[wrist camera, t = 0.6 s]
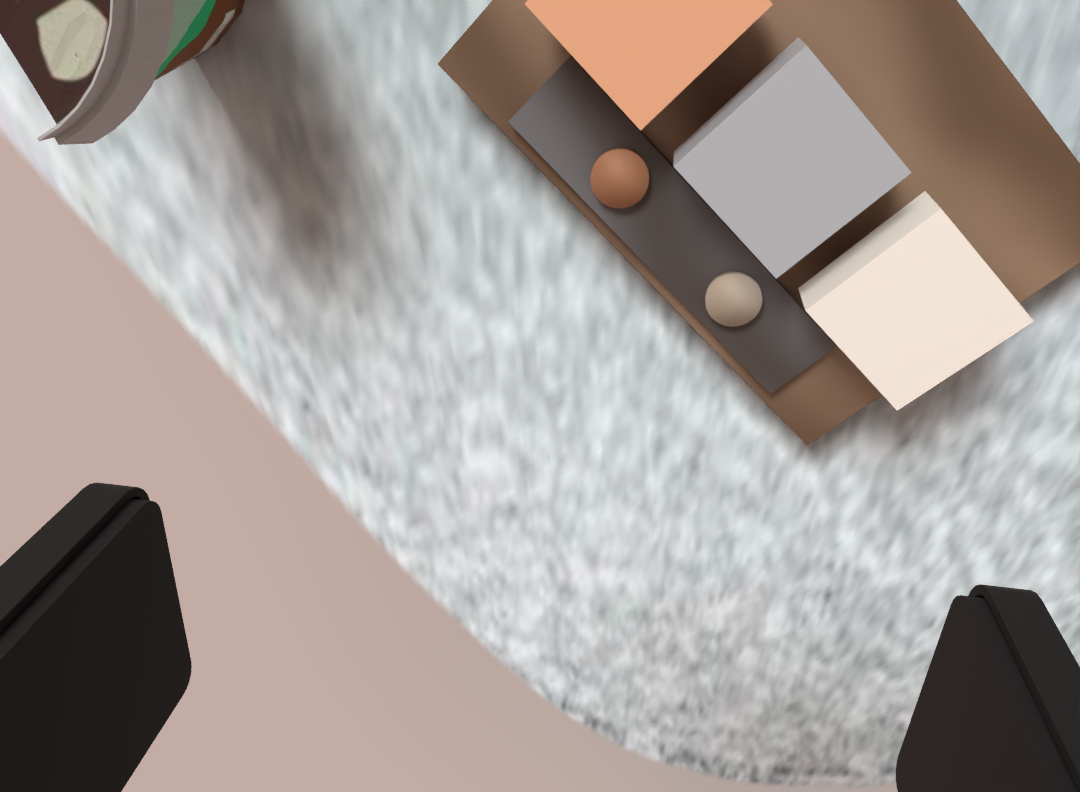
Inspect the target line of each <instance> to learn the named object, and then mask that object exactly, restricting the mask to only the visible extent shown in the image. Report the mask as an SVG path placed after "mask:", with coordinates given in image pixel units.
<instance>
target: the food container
mask: <svg viewBox="0 0 1080 792" xmlns="http://www.w3.org/2000/svg"><path fill="white" fill-rule="evenodd" d="M244 2H245V0H0V34H1V35H2V37H3V38H4V40H5V42H6V43H7V45H8V46H9V48H10V50H11V51H12V53H13V54H14V56H15V57H16V59H17V61H18V62H19V64H20V65H21V67H22V69H23V70H24V72H25V73H26V75H27V76H28V78H29V80H30V81H31V83H32V84H33V86H34V88H35V89H36V91H37V93H38V94H39V96H40V97H41V99H42V101H43V102H44V104H45V106H46V107H47V109H48V111H49V112H50V114H51V115H52V117H53V119H54V120H55V122H56V124H58V125H57V126H55V127H54V128H52V129H51V130H49V131H48V132H46V133H45V134H43V135H42V136H40V137H39V138H37V139H38V140H39V141H41V140H45V139H49V138H53V137H55V139H56V141H57V143H58V144H59V145H61V144H86V143H94V142H95V141H97V140H99V139H100V138H102V137H103V136H105V135H107V134H108V133H110V132H111V131H113V130H114V129H116V128H117V127H118V126H119V125H120V124H121V123H122V122H123V121H124V120H125V119H126V118H127V117H128V116H129V115H130V114H131V113H132V112H133V111H134V110H135V109H136V108H137V106H138V105H139V103H140V102H141V100H142V99H143V98H144V96H145V95H146V93H147V92H148V90H149V89H150V88H151V86H152V84H153V82H154V80H156V79H158V78H159V77H161V76H163V75H165V74H167V73H168V72H170V71H172V70H174V69H176V68H177V67H179V66H181V65H183V64H185V63H186V62H188V61H190V60H192V59H194V58H195V57H197V56H198V55H200V54H201V53H203V52H205V51H206V50H208V49H209V48H211V47H212V46H214V45H215V44H217V43H218V42H219V40H220V39H221V38H222V37H223V35H224V34H225V33H226V31H227V30H228V29H229V28H230V26H231V25H232V24H233V22H234V21H235V20H236V19H237V17H238V16H239V15H240V13H241V11H242V8H243V5H244Z"/></svg>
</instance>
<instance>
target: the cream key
mask: <svg viewBox="0 0 1080 792" xmlns="http://www.w3.org/2000/svg"><path fill="white" fill-rule="evenodd" d="M798 289H799V292H800V295H801V299H802V302H803V305H804V308H805V311H806V312H807V313H808V314H809V315H810V316H811V317H812V318H813V320H814V321H815V322H816V323H817V324H818V325H819V326H820V327H821V328H822V329H823V330H824V332H825V333H826V334H827V335H828V336H829V337H830V338H831V339H832V340H833V341H834V342H835V344H836V345H837V346H838V347H839V348H840V349H841V350H842V351H843V352H844V353H845V354H846V356H847V357H848V358H849V359H850V360H851V361H852V362H853V363H854V364H855V365H856V366H857V368H858V369H859V370H860V371H861V372H862V373H863V374H864V375H865V376H866V377H867V378H868V380H869V381H870V382H871V383H872V384H873V385H874V386H875V387H876V388H877V389H878V391H879V392H880V393H881V394H882V395H883V396H884V397H885V398H886V399H887V400H888V401H889V403H890V404H891V405H892V406H893V407H894V408H895V409H896V410H897V411H898V410H899V409H901V408H902V407H904V406H905V405H907V404H908V403H910V402H911V401H913V400H914V399H916V398H917V397H919V396H920V395H922V394H924V393H925V392H927V391H928V390H930V389H931V388H933V387H934V386H936V385H937V384H939V383H940V382H942V381H943V380H945V379H946V378H948V377H950V376H951V375H953V374H954V373H956V372H957V371H959V370H960V369H962V368H963V367H965V366H966V365H968V364H969V363H971V362H972V361H974V360H975V359H977V358H979V357H980V356H982V355H983V354H985V353H986V352H988V351H989V350H991V349H992V348H994V347H995V346H997V345H998V344H1000V343H1001V342H1003V341H1005V340H1006V339H1008V338H1009V337H1011V336H1012V335H1014V334H1015V333H1017V332H1018V331H1020V330H1021V329H1023V328H1024V327H1026V326H1027V325H1029V324H1030V323H1032V322H1034V321H1033V319H1032V318H1031V317H1030V316H1029V315H1028V313H1027V312H1026V311H1025V310H1024V309H1023V307H1022V306H1021V305H1020V304H1019V302H1018V301H1017V300H1016V299H1015V298H1014V296H1013V295H1012V294H1011V293H1010V292H1009V290H1008V289H1007V288H1006V287H1005V285H1004V284H1003V283H1002V282H1001V281H1000V279H999V278H998V277H997V276H996V275H995V273H994V272H993V271H992V270H991V268H990V267H989V266H988V265H987V264H986V262H985V261H984V260H983V259H982V258H981V256H980V255H979V254H978V253H977V251H976V250H975V249H974V248H973V247H972V245H971V244H970V243H969V242H968V241H967V239H966V238H965V237H964V236H963V234H962V233H961V232H960V231H959V230H958V228H957V227H956V226H955V225H954V224H953V222H952V221H951V220H950V219H949V217H948V216H947V215H946V214H945V213H944V211H943V210H942V209H941V208H940V207H939V206H938V205H937V203H936V202H935V201H934V200H933V199H932V198H931V197H930V196H929V195H928V194H927V192H926V191H924V192H923V193H922V194H920V195H919V196H918V197H916V198H915V199H914V200H912V201H911V202H910V203H909V204H907V205H906V206H905V207H903V208H902V209H901V210H899V211H898V212H897V213H895V214H894V215H893V216H892V217H890V218H889V219H888V220H886V221H885V222H884V223H882V224H881V225H880V226H879V227H877V228H876V229H875V230H873V231H872V232H871V233H869V234H868V235H867V236H866V237H864V238H863V239H862V240H860V241H859V242H858V243H856V244H855V245H854V246H853V247H851V248H850V249H849V250H847V251H846V252H845V253H843V254H842V255H841V256H839V257H838V258H837V259H836V260H834V261H833V262H832V263H830V264H829V265H828V266H826V267H825V268H824V269H823V270H821V271H820V272H819V273H817V274H816V275H815V276H813V277H812V278H811V279H810V280H808V281H807V282H806V283H804V284H803V285H802V286H800V287H799V288H798Z"/></svg>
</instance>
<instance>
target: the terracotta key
mask: <svg viewBox="0 0 1080 792" xmlns="http://www.w3.org/2000/svg"><path fill="white" fill-rule="evenodd" d="M525 5H526V6H527V7H528V8H529V9H530V10H531V11H532V13H533V14H534V15H535V16H536V17H537V18H538V19H539V20H540V21H541V22H542V24H543V25H544V26H545V27H546V28H547V29H548V30H549V31H550V32H551V33H552V34H553V36H554V37H555V38H556V39H557V40H558V41H559V42H560V43H561V44H562V45H563V46H564V48H565V49H566V50H567V51H568V52H569V53H570V54H571V55H572V56H573V57H574V58H575V60H576V61H577V62H578V63H579V64H580V65H581V66H582V67H583V68H584V69H585V70H586V72H587V73H588V74H589V75H590V76H591V77H592V78H593V79H594V80H595V81H596V82H597V84H598V85H599V86H600V87H601V88H602V89H603V90H604V91H605V92H606V93H607V95H608V96H609V97H610V98H611V99H612V100H613V101H614V102H615V103H616V104H617V105H618V107H619V108H620V109H621V110H622V111H623V112H624V113H625V114H626V115H627V116H628V117H629V119H630V120H631V121H632V122H633V123H634V124H635V125H636V126H637V127H638V128H639V129H640V131H641V130H642V129H643V128H644V127H645V126H646V125H647V124H648V123H649V122H650V121H651V120H652V119H653V118H654V117H655V116H656V115H658V114H659V113H660V112H661V111H662V110H663V109H664V108H665V107H666V106H667V105H668V104H669V103H670V102H671V101H672V100H673V99H674V98H675V97H676V96H677V95H679V94H680V93H681V92H682V91H683V90H684V89H685V88H686V87H687V86H688V85H689V84H690V83H691V82H692V81H693V80H694V79H695V78H696V77H697V76H698V75H699V74H701V73H702V72H703V71H704V70H705V69H706V68H707V67H708V66H709V65H710V64H711V63H712V62H713V61H714V60H715V59H716V58H717V57H718V56H719V55H720V54H722V53H723V52H724V51H725V50H726V49H727V48H728V47H729V46H730V45H731V44H732V43H733V42H734V41H735V40H736V39H737V38H738V37H739V36H740V35H741V34H742V33H744V32H745V31H746V30H747V29H748V28H749V27H750V26H751V25H752V24H753V23H754V22H755V21H756V20H757V19H758V18H759V17H760V16H761V15H762V14H763V13H765V12H766V11H767V10H768V9H769V8H770V7H771V6H772V5H773V4H772V3H771V1H770V0H527V1H526V3H525Z"/></svg>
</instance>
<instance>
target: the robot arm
mask: <svg viewBox="0 0 1080 792" xmlns="http://www.w3.org/2000/svg"><path fill="white" fill-rule="evenodd" d="M190 675H191V658H190V653H189V648H188V643H187V639H186V634H185V628H184V623H183V619H182V613H181V608H180V603H179V598H178V594H177V588H176V583H175V578H174V573H173V568H172V563H171V558H170V553H169V548H168V543H167V538H166V533H165V528H164V523H163V518H162V513H161V510H160V507H159V505H158V504H157V503H156V502H153V501H150V500H149V497H148V495H147V493H146V492H145V491H144V490H143V489H140V488H138V487H129V486H121V485H113V484H103V483H93V484H89V485H88V486H86V487H85V488H83V489H82V490H81V491H80V492H79V493H78V494H77V495H76V496H75V497H74V498H73V499H72V500H71V501H70V502H69V503H67V504H66V505H65V506H64V507H63V508H62V509H61V510H60V511H59V512H58V513H57V514H56V515H55V516H54V517H53V518H52V519H50V521H48V522H47V523H46V524H45V525H44V526H43V527H42V528H41V529H40V530H39V531H38V532H37V533H36V534H34V535H33V536H32V537H31V538H30V539H29V540H28V541H27V542H26V543H25V544H24V545H23V546H22V547H21V548H20V549H19V550H18V551H16V552H15V553H14V554H13V555H12V556H11V557H10V558H9V559H8V560H7V561H6V562H5V563H4V564H3V565H1V566H0V792H121V791H122V789H123V788H124V786H125V785H126V783H127V781H128V780H129V778H130V777H131V775H132V774H133V772H134V771H135V769H136V768H137V766H138V764H139V763H140V761H141V760H142V758H143V757H144V755H145V754H146V752H147V750H148V749H149V747H150V746H151V744H152V742H153V741H154V740H155V738H156V736H157V735H158V733H159V732H160V730H161V729H162V727H163V726H164V724H165V722H166V721H167V719H168V718H169V716H170V715H171V713H172V711H173V710H174V708H175V707H176V705H177V703H178V702H179V701H180V699H181V698H182V696H183V694H184V692H185V690H186V689H187V686H188V683H189V679H190ZM896 783H897V790H898V792H1080V667H1079V665H1078V663H1077V662H1076V660H1075V658H1074V656H1073V655H1072V653H1071V651H1070V649H1069V647H1068V646H1067V644H1066V642H1065V640H1064V639H1063V637H1062V635H1061V633H1060V632H1059V630H1058V628H1057V626H1056V624H1055V623H1054V621H1053V619H1052V617H1051V616H1050V614H1049V612H1048V610H1047V608H1046V607H1045V605H1044V603H1043V601H1042V600H1041V598H1040V597H1039V596H1038V595H1037V593H1035V592H1033V591H1031V590H1023V589H1015V588H1006V587H997V586H988V585H976V586H975V587H974V588H973V589H972V590H971V592H970V594H969V596H961V595H960V596H957V597H956V598H955V599H954V600H953V602H952V604H951V606H950V609H949V612H948V615H947V618H946V621H945V624H944V627H943V629H942V632H941V635H940V638H939V641H938V644H937V647H936V649H935V652H934V655H933V658H932V661H931V664H930V667H929V670H928V672H927V675H926V678H925V681H924V684H923V687H922V690H921V693H920V695H919V698H918V701H917V704H916V707H915V710H914V713H913V716H912V718H911V721H910V724H909V727H908V730H907V733H906V736H905V739H904V741H903V744H902V747H901V750H900V753H899V756H898V760H897V766H896Z"/></svg>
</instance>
